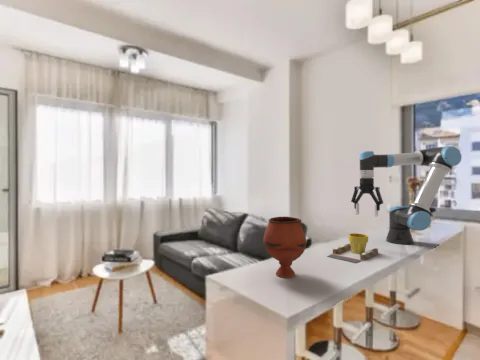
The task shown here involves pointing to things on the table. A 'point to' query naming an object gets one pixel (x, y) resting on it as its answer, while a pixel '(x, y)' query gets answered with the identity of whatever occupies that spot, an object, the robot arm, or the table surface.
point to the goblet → (285, 242)
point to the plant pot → (358, 242)
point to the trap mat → (344, 258)
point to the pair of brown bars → (362, 256)
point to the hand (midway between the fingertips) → (366, 215)
